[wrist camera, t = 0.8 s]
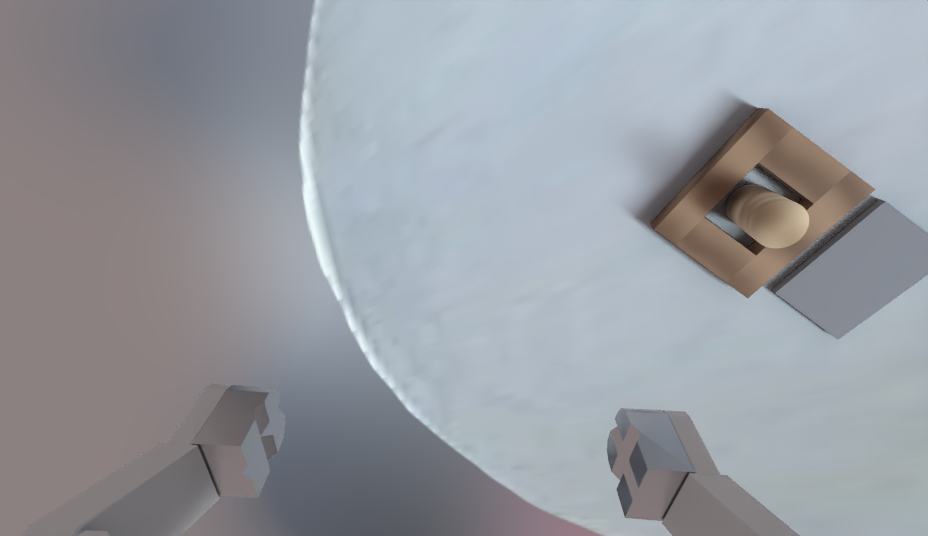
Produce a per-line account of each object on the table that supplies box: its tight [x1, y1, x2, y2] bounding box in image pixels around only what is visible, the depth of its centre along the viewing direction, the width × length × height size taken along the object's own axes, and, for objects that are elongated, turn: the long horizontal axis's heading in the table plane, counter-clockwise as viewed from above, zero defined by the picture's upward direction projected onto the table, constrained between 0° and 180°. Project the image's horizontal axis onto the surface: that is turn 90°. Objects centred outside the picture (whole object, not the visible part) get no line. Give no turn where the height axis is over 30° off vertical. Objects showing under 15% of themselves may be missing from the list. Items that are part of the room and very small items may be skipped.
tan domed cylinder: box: [725, 184, 809, 248], centre depth 43 cm, size 4×4×8 cm
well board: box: [651, 108, 875, 298], centre depth 46 cm, size 15×13×2 cm
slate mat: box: [771, 199, 928, 339], centre depth 47 cm, size 13×9×1 cm
